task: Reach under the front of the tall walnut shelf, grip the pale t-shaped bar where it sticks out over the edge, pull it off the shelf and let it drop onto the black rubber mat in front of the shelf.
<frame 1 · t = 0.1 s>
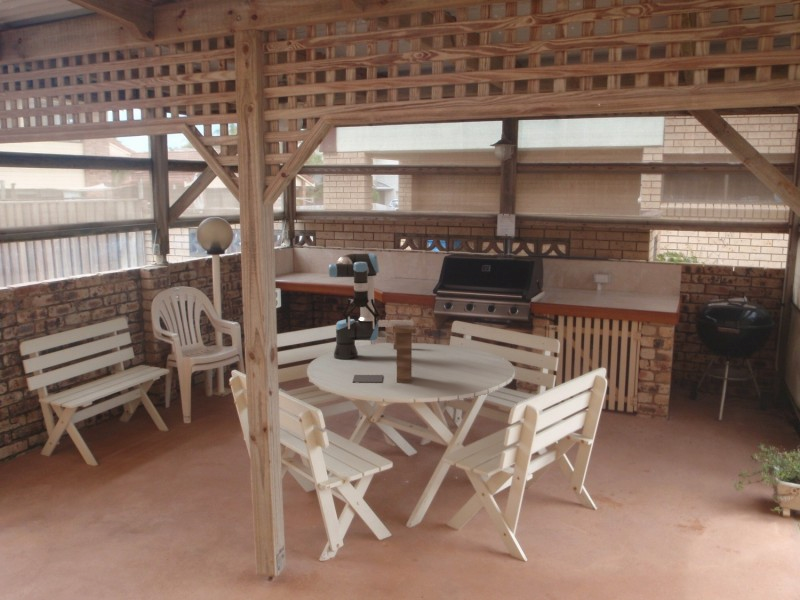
hand: (361, 328, 380), 28 cm above the table, tool pointing down, fingers open, 13 cm apart
wooden block: (401, 349, 454), on the table
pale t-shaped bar: (395, 326, 376), point 30 cm above the table, touching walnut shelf
rubber mat: (368, 379, 381), on the table
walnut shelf: (404, 379, 381), on the table
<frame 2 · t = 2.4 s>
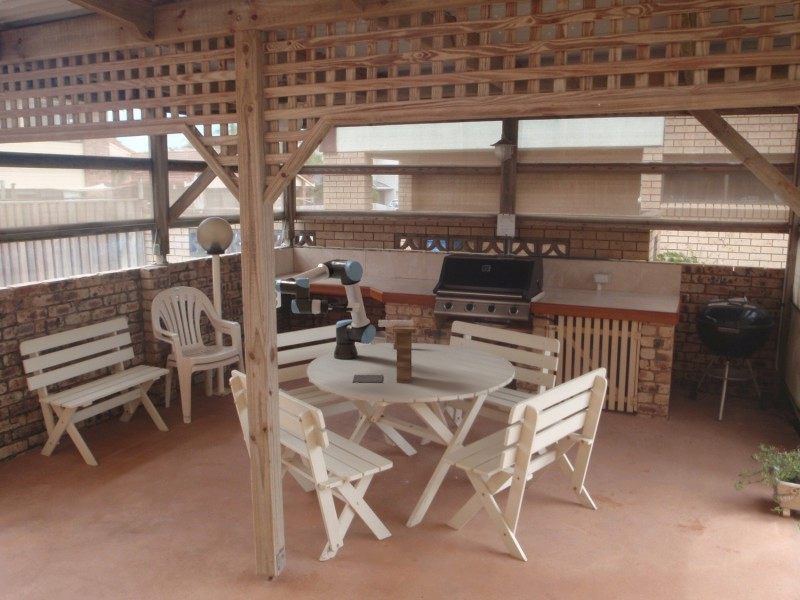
hand: (359, 307, 378), 40 cm above the table, tool horizontal, fingers open, 13 cm apart
nothing on the table moved.
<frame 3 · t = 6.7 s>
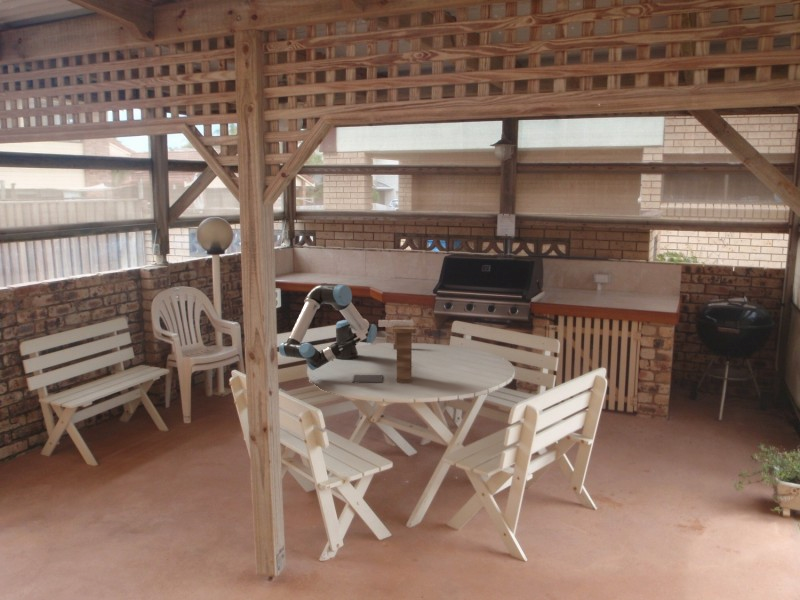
hand: (366, 332, 377), 26 cm above the table, tool pointing upward, fingers open, 13 cm apart
nothing on the table moved.
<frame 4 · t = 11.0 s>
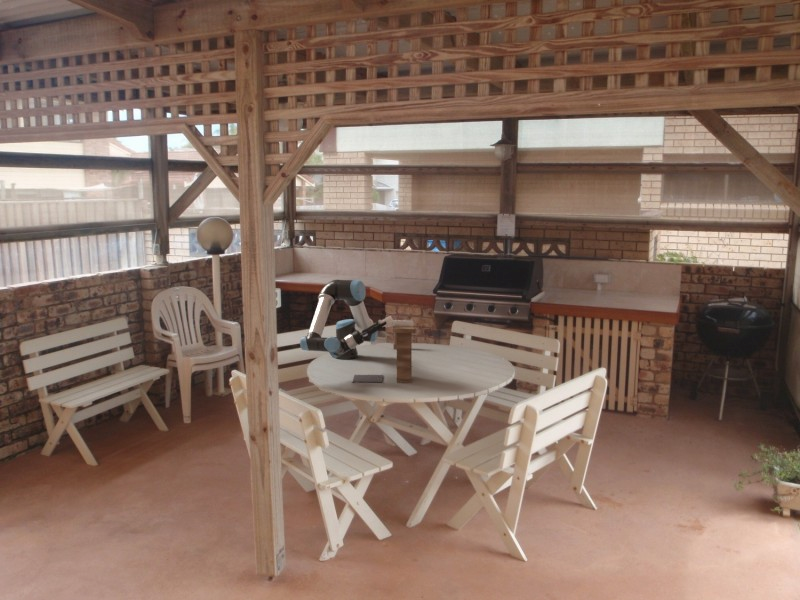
hand: (391, 318, 376), 34 cm above the table, tool pointing upward, fingers closed on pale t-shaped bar, 4 cm apart
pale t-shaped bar: (395, 326, 376), point 30 cm above the table, touching gripper, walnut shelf
everything else where it was.
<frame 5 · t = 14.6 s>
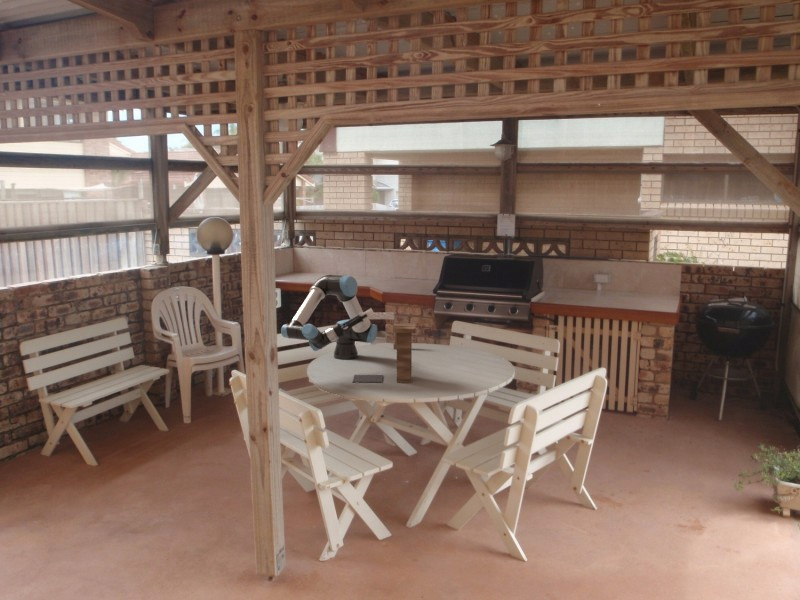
hand: (372, 311, 375), 38 cm above the table, tool pointing upward, fingers closed on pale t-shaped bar, 4 cm apart
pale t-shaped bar: (376, 318, 376), point 34 cm above the table, touching gripper
everything else where it was.
when the fingers open (25 cm above the table, at t = 18.2 s): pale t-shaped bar drops 20 cm, resting on rubber mat.
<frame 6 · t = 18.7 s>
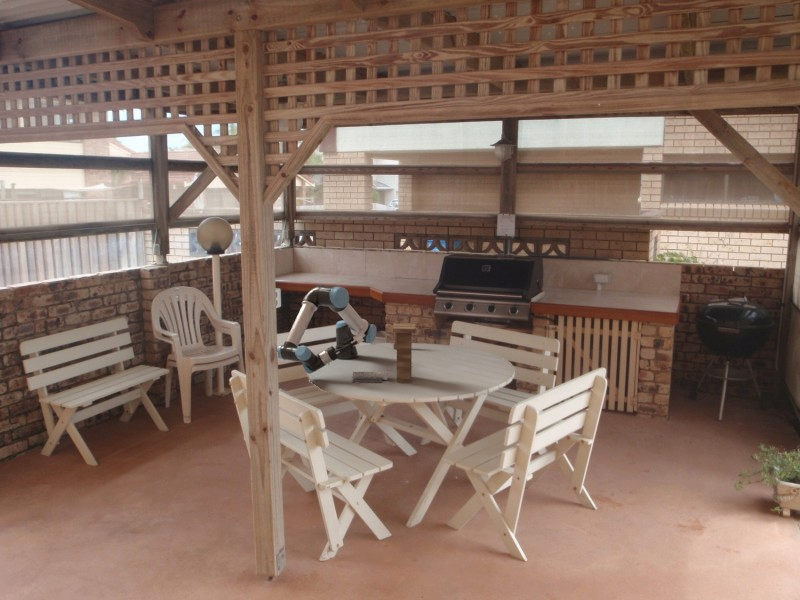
hand: (363, 336, 377), 24 cm above the table, tool pointing upward, fingers open, 12 cm apart
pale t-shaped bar: (370, 378, 381), point 1 cm above the table, touching rubber mat
everything else where it was.
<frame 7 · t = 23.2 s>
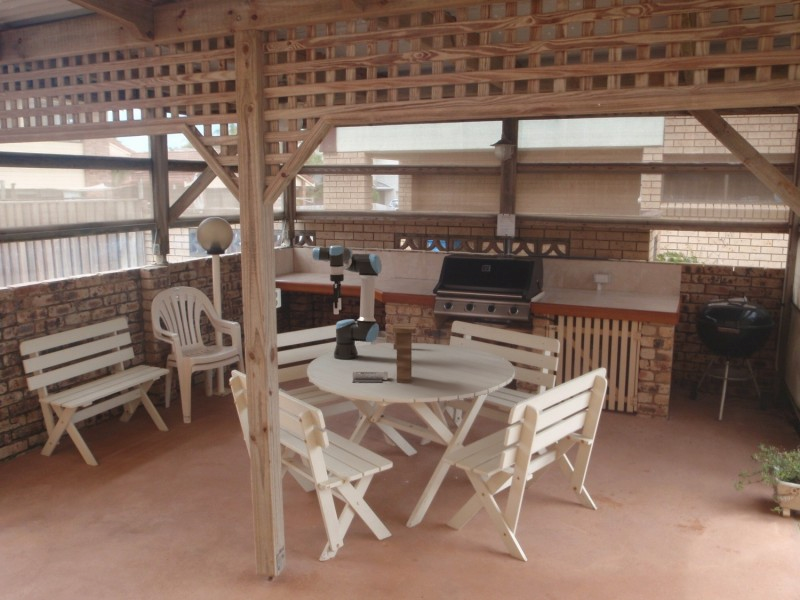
hand: (337, 311, 383), 36 cm above the table, tool pointing down, fingers open, 13 cm apart
nothing on the table moved.
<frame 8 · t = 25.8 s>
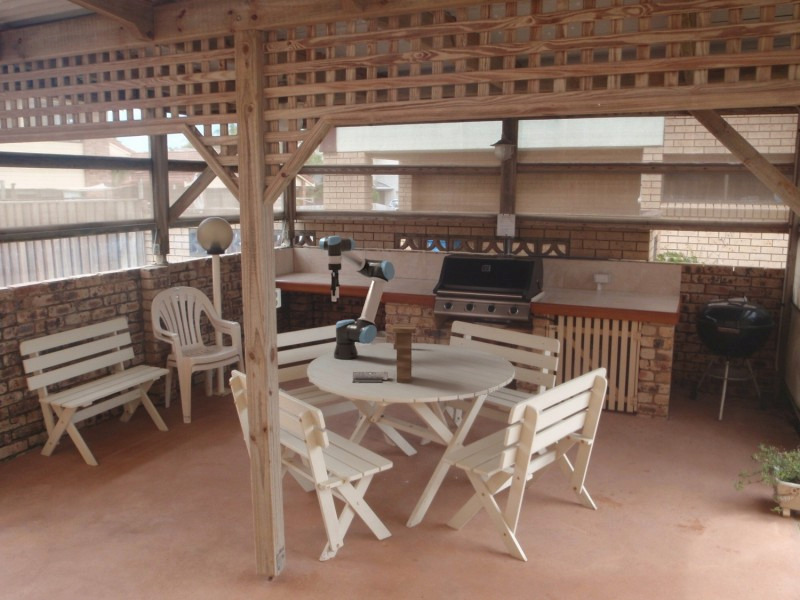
hand: (335, 299, 399), 41 cm above the table, tool pointing down, fingers open, 13 cm apart
nothing on the table moved.
at the end: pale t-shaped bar inside the target area (0.2 cm from its centre), point 0.6 cm above the table; the gripper is holding nothing; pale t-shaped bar moved 32.7 cm from its start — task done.
